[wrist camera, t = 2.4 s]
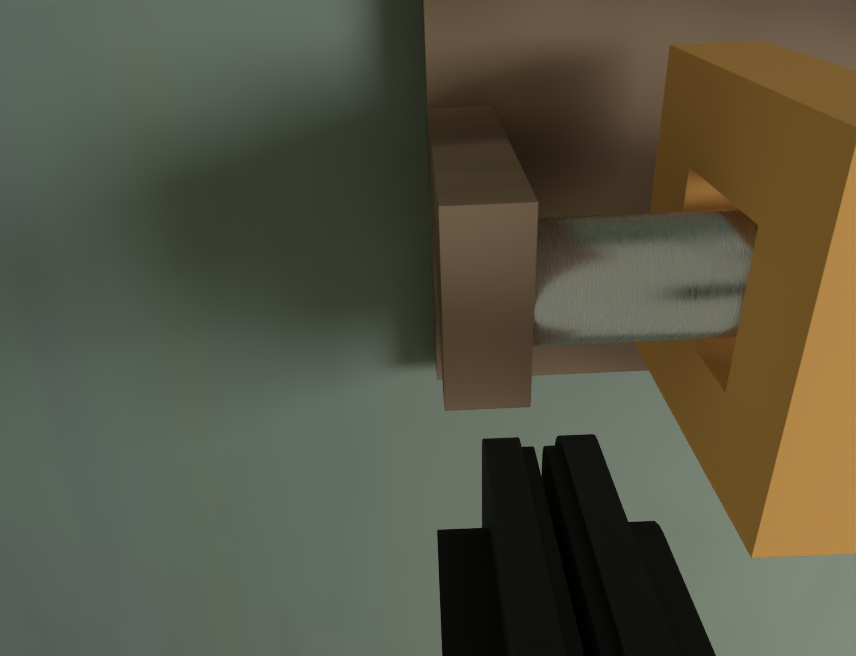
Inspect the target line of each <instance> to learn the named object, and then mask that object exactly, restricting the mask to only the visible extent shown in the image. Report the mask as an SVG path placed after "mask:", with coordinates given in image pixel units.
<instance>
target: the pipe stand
mask: <svg viewBox="0 0 856 656" xmlns="http://www.w3.org/2000/svg"><path fill="white" fill-rule="evenodd" d="M423 17H424V45H425V72H426V100H427V128H428V156H429V183H430V211H431V239H432V267H433V295H434V322H435V350H436V369H437V380H440V379H442V380H443V393H444V406H445V411H450V410H473V409H495V408H518V407H530V402H531V377H532V375H553V374H576V373H598V372H621V371H644V370H648V368H647V366H646V364H645V362H644V360H643V359H642V357H641V355H640V353H639V351H638V349H637V348H636V346H635V344H634V342H641V341H663V340H686V339H709V338H732V337H736V336H737V331H738V326H739V321H740V316H741V311H742V306H743V301H744V296H745V291H746V286H747V281H748V276H749V270H750V265H751V260H752V255H753V250H754V245H755V240H756V235H757V230H758V225H757V224H756V223H755V222H754V221H753V220H751V219H750V218H749V217H748V216H747V215H745V214H744V213H743V212H742V211H741V210H740V209H729V210H706V211H683V212H660V213H650V207H651V199H652V190H653V182H654V174H655V165H656V157H657V148H658V140H659V132H660V123H661V115H662V106H663V98H664V90H665V81H666V73H667V64H668V56H669V48H670V45H673V44H697V43H721V42H744V41H764V42H767V43H771V44H774V45H777V46H780V47H783V48H786V49H789V50H793V51H796V52H799V53H802V54H805V55H808V56H811V57H815V58H818V59H821V60H824V61H827V62H830V63H833V64H837V65H840V66H843V67H846V68H849V69H852V70H855V71H856V0H423Z"/></svg>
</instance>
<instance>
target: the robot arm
mask: <svg viewBox="0 0 856 656" xmlns="http://www.w3.org/2000/svg"><path fill="white" fill-rule="evenodd" d="M437 536H438V561H439V585H440V609H441V634H442V656H716V655H715V653H714V650H713V648H712V646H711V643H710V641H709V639H708V636H707V634H706V632H705V629H704V627H703V625H702V622H701V620H700V617H699V615H698V613H697V610H696V608H695V606H694V603H693V601H692V599H691V596H690V594H689V592H688V589H687V587H686V585H685V582H684V580H683V578H682V575H681V573H680V571H679V568H678V566H677V564H676V561H675V559H674V557H673V554H672V552H671V550H670V547H669V545H668V543H667V540H666V538H665V536H664V533H663V531H662V530H661V528H660V526H659V525H658V524H657V523H656V522H655V521H643V522H628V520H627V518H626V515H625V512H624V510H623V507H622V504H621V502H620V499H619V496H618V494H617V491H616V488H615V486H614V483H613V480H612V478H611V475H610V472H609V470H608V467H607V464H606V461H605V459H604V456H603V453H602V451H601V448H600V445H599V443H598V440H597V438H596V436H595V435H594V434H589V435H565V436H557V438H556V442H555V446H544V448H543V455H542V477H541V474H540V470H539V465H538V461H537V457H536V453H535V449H534V447H533V446H532V447H521V443H520V439H519V438H518V437H516V438H491V439H483V440H482V528H471V529H446V530H437Z"/></svg>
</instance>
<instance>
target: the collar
mask: <svg viewBox="0 0 856 656" xmlns="http://www.w3.org/2000/svg"><path fill="white" fill-rule="evenodd" d="M729 209H740V210H741V211H742V212H743V213H744V214H745V215H747V216H748V217H749V218H750V219H751V220H753V221H754V222H755V223H756V224H757V225H758V230H757V235H756V240H755V245H754V250H753V255H752V260H751V265H750V270H749V276H748V281H747V286H746V291H745V296H744V301H743V306H742V311H741V316H740V321H739V326H738V331H737V336H736V337H732V338H709V339H686V340H663V341H641V342H634V344H635V346H636V348H637V349H638V351H639V353H640V355H641V357H642V359H643V360H644V362H645V364H646V366H647V368H648V370H649V371H650V373H651V375H652V377H653V379H654V381H655V382H656V384H657V386H658V388H659V390H660V392H661V393H662V395H663V397H664V399H665V401H666V402H667V404H668V406H669V408H670V410H671V412H672V413H673V415H674V417H675V419H676V421H677V423H678V424H679V426H680V428H681V430H682V432H683V434H684V435H685V437H686V439H687V441H688V443H689V445H690V446H691V448H692V450H693V452H694V454H695V456H696V457H697V459H698V461H699V463H700V465H701V466H702V468H703V470H704V472H705V474H706V476H707V477H708V479H709V481H710V483H711V485H712V487H713V488H714V490H715V492H716V494H717V496H718V498H719V499H720V501H721V503H722V505H723V507H724V509H725V510H726V512H727V514H728V516H729V518H730V520H731V521H732V523H733V525H734V527H735V529H736V530H737V532H738V534H739V536H740V538H741V540H742V541H743V543H744V545H745V547H746V549H747V551H748V552H749V554H750V556H751V558H761V557H783V556H805V555H827V554H849V553H856V71H855V70H852V69H849V68H846V67H843V66H840V65H837V64H833V63H830V62H827V61H824V60H821V59H818V58H815V57H811V56H808V55H805V54H802V53H799V52H796V51H793V50H789V49H786V48H783V47H780V46H777V45H774V44H771V43H767V42H764V41H744V42H721V43H697V44H673V45H670V48H669V56H668V64H667V73H666V81H665V90H664V98H663V106H662V115H661V123H660V132H659V140H658V148H657V157H656V165H655V174H654V182H653V190H652V199H651V207H650V213H660V212H683V211H706V210H729Z"/></svg>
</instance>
